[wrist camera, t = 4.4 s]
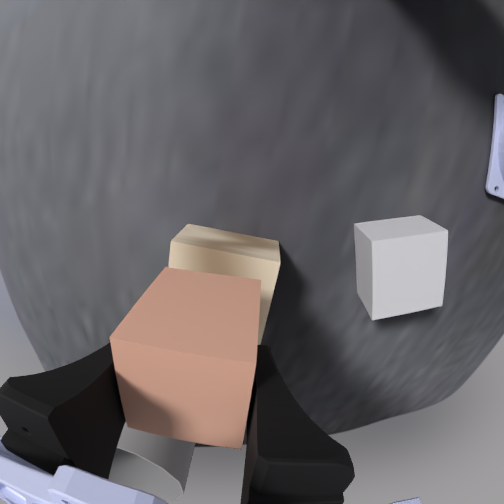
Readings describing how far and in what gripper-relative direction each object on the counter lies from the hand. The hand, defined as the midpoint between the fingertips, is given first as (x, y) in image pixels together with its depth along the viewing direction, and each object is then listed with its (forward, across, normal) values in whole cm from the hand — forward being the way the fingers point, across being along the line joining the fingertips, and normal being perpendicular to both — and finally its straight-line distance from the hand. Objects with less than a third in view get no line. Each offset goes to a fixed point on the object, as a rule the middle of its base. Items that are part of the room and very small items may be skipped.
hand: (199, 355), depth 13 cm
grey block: (+9, -11, -3) cm, 15 cm away
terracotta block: (+2, 0, 0) cm, 3 cm away
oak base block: (+9, 0, 0) cm, 9 cm away
